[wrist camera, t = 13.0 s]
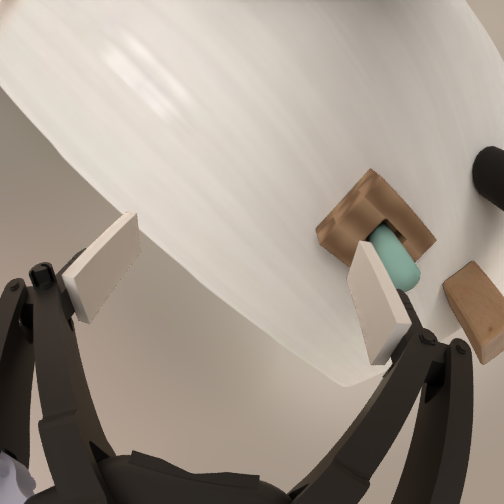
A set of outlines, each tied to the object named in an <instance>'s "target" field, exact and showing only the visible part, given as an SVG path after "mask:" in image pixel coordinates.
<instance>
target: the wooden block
mask: <svg viewBox="0 0 504 504" xmlns="http://www.w3.org/2000/svg"><path fill="white" fill-rule="evenodd" d="M443 286H444V290H445V293H446V295H447V298H448V302H449V305H450V307H451V309H452V311H453V312H454V314H455V316H456V317H457V319H458V321H459V323H460V325H461V326H462V328H463V330H464V332H465V334H466V335H467V337H468V339H469V341H470V343H471V345H472V347H473V349H474V351H475V353H476V355H477V357H478V359H479V361H480V363H481V364H482V365H484V364H486V363H488V362H489V361H490V360H492V359H493V358H495V357H496V356H497V355H499V354H500V353H501V352H502V351H503V350H504V297H503V295H502V294H501V293H500V292H499V290H498V289H497V288H496V286H495V285H494V284H493V283H492V281H491V280H490V279H489V278H488V276H487V275H486V274H485V273H484V272H483V270H482V269H481V268H480V267H479V266H478V265H477V263H476V262H475V261H471V262H470V263H469V264H467V265H466V266H465V267H463V268H462V269H461V270H459V271H458V272H457V273H455V274H454V275H453V276H451V277H450V278H449V279H447V280H446V281H445V282H444V284H443Z"/></svg>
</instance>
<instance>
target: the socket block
mask: <svg viewBox="0 0 504 504" xmlns="http://www.w3.org/2000/svg"><path fill="white" fill-rule="evenodd" d="M383 220H384V221H385V222H386V224H387V225H388V226H389V228H390V229H391V230H392V232H393V233H394V234H395V236H396V237H397V238H398V240H399V241H400V242H401V244H402V245H403V247H404V248H405V249H406V251H407V252H408V254H409V255H410V257H411V258H412V260H413V261H414V263H415V262H416V261H417V260H418V259H419V258H420V257H421V256H422V255H423V254H424V253H425V252H426V251H427V250H428V249H429V248H430V247H431V246H432V245H433V244H434V243H435V241H436V238H435V237H434V236H433V235H432V233H431V232H430V231H429V230H428V228H427V227H426V226H425V225H424V223H423V222H422V221H421V220H420V219H419V217H418V216H417V215H416V214H415V213H414V212H413V210H412V209H411V208H410V207H409V206H408V205H407V204H406V202H405V201H404V200H403V199H402V198H401V197H400V196H399V195H398V194H397V193H396V191H395V190H394V189H393V188H392V187H391V186H390V185H389V184H388V183H387V182H386V181H385V180H384V179H383V178H382V177H381V176H380V175H378V174H377V173H376V172H375V171H373V170H372V169H371V168H370V169H369V170H368V172H367V173H366V174H365V175H364V176H363V177H362V178H361V179H360V181H359V182H358V183H357V184H356V185H355V186H354V187H353V188H352V189H351V191H350V192H349V193H348V194H347V195H346V196H345V197H344V198H343V199H342V200H341V202H340V203H339V204H338V205H337V206H336V207H335V208H334V209H333V210H332V211H331V212H330V214H329V215H328V216H327V217H326V218H325V219H324V220H323V221H322V222H321V223H320V224H319V225H318V226H317V228H316V232H317V236H318V239H319V243H320V245H321V246H323V247H324V248H325V249H326V250H328V251H329V252H330V253H332V254H333V255H334V256H336V257H337V258H338V259H339V260H341V261H342V262H343V263H345V264H346V265H347V266H348V267H351V264H352V261H353V258H354V255H355V252H356V249H357V246H358V243H359V241H366V242H368V240H367V238H366V237H367V236H368V235H369V234H370V233H371V232H372V231H373V230H374V229H375V228H376V227H377V226H378V225H379V224H380V223H381V222H382V221H383Z"/></svg>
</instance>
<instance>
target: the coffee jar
mask: <svg viewBox="0 0 504 504" xmlns="http://www.w3.org/2000/svg"><path fill="white" fill-rule="evenodd" d="M473 179H474V183H475V186H476V188H477V190H478V192H479V194H481V195H482V196H483V197H484V198H486V199H487V200H489V201H490V202H492V203H493V204H494V205H496V206H497V207H499V208H500V209H501V210H503V211H504V150H502V149H499V148H497V147H494V146H490V147H486V148H485V149H483V150H482V151H480V152H479V154H478V155H477V157H476V159H475V162H474V166H473Z"/></svg>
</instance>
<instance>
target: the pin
mask: <svg viewBox="0 0 504 504" xmlns="http://www.w3.org/2000/svg"><path fill="white" fill-rule="evenodd" d="M366 238H367V240H368V242H371V243H372V245H373V247H374V249H375V251H376V252H377V254H378V256H379V258H380V260H381V261H382V263H383V265H384V267H385V269H386V271H387V273H388V275H389V277H390V279H391V281H392V283H393V285H394V287H395V289H401V290H402V291H403V292H406V291H409V290H411V289H412V288H413V287H415V286H416V284H417V283H418V281H419V279H420V270H419V268H418V267H417V265H416V264H415V263H414V261H413V260H412V258H411V257H410V255H409V254H408V252H407V251H406V249H405V248H404V247H403V245H402V244H401V242H400V241H399V240H398V238H397V237H396V236H395V234H394V233H393V232H392V230H391V229H390V228H389V226H388V225H387V224H386V222H385V221H384V220H383V221H382V222H381V223H380V224H379V225H378V226H377V227H376V228H375V229H374V230H373V231H372V232H371V233H370V234H369V235H368V236H367V237H366Z"/></svg>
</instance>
